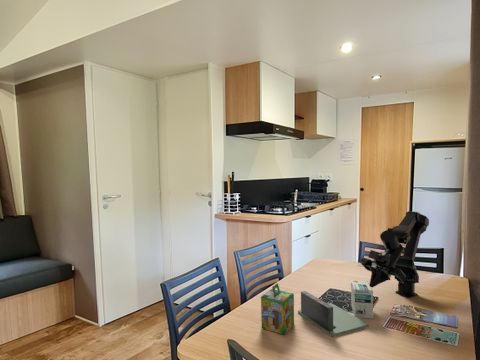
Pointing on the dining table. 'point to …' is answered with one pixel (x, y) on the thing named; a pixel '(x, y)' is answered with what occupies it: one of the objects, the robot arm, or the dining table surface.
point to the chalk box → (277, 310)
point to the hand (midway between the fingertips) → (370, 286)
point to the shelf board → (341, 322)
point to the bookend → (317, 310)
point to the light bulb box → (362, 299)
